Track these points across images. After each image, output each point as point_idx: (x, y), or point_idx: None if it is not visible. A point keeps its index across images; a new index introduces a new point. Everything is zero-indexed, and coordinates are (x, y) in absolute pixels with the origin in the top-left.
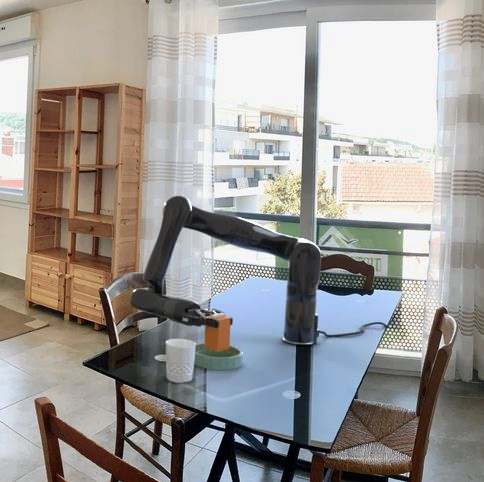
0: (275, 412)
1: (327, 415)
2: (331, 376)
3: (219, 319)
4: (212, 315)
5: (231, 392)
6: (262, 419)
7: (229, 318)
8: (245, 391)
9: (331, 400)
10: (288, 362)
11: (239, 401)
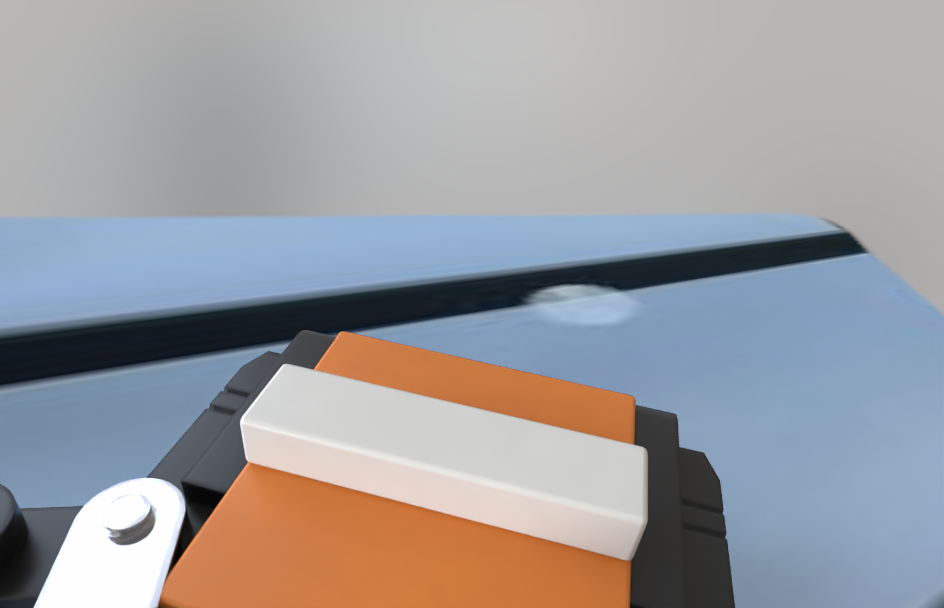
0: (796, 302)
1: (656, 225)
2: (247, 256)
3: (585, 401)
4: (632, 478)
5: (827, 461)
6: (891, 313)
7: (369, 342)
8: (742, 421)
9: (526, 231)
10: (76, 402)
11: (867, 402)
